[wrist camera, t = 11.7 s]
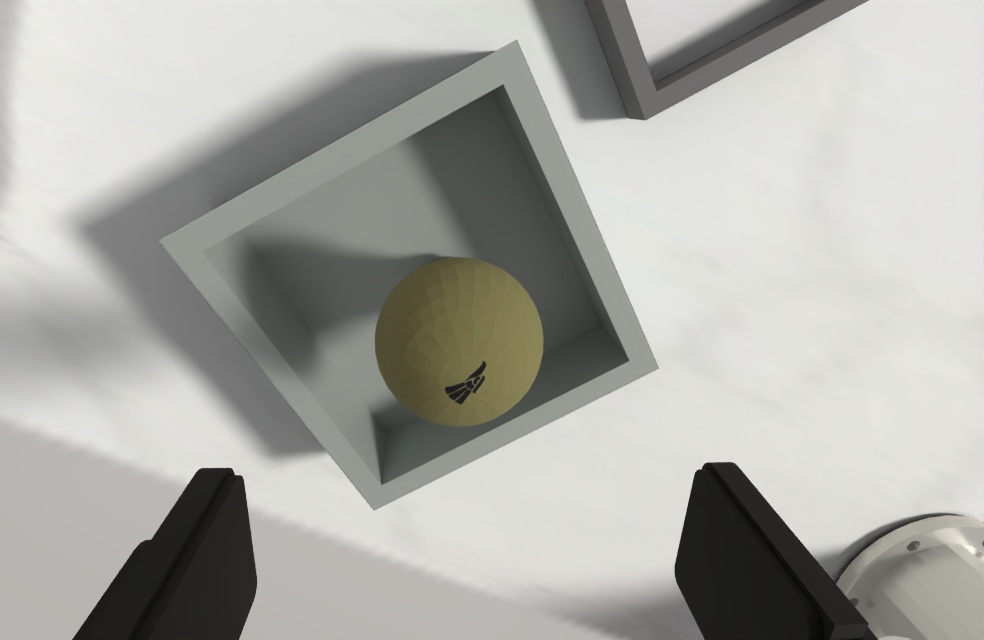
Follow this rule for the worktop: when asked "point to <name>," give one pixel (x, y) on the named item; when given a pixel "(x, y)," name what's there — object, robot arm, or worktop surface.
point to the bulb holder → (656, 97)
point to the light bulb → (459, 341)
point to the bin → (404, 248)
